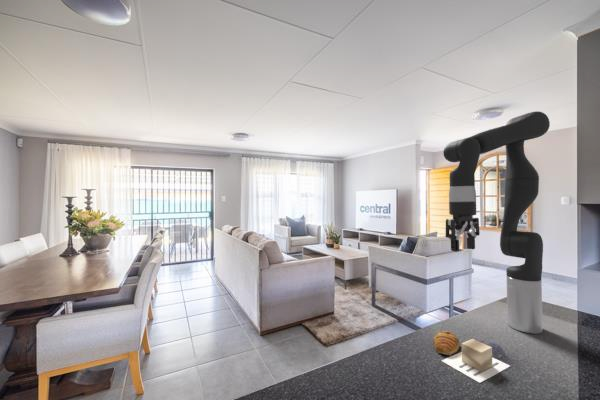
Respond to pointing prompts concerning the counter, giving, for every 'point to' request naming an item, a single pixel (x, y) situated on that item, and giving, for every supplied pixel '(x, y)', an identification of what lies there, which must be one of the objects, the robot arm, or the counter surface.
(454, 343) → the pastry
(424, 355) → the counter surface
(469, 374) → the letter
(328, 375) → the counter surface
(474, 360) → the maple cube
